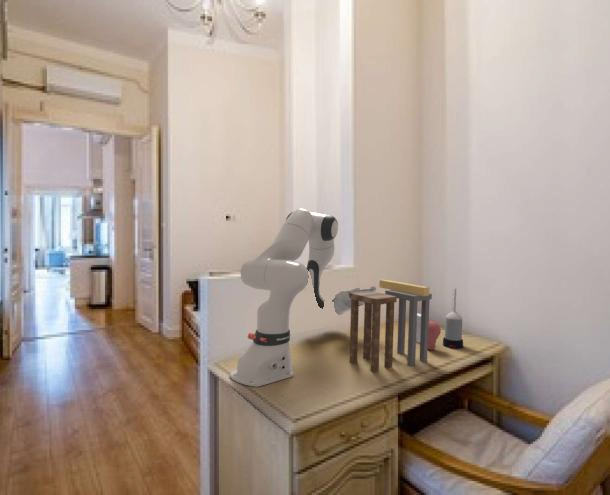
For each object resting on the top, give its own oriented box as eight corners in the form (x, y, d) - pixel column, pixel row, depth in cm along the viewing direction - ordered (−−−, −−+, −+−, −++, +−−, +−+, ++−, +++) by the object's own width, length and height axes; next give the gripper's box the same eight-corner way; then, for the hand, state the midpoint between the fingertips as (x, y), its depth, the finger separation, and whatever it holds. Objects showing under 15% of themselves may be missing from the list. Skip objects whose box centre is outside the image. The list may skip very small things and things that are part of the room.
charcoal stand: (383, 355, 153) (385, 290, 151) (400, 351, 159) (402, 288, 157) (411, 367, 141) (414, 296, 140) (429, 361, 147) (431, 293, 146)
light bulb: (440, 353, 157) (442, 324, 157) (422, 351, 159) (423, 322, 158) (438, 347, 164) (439, 319, 163) (421, 346, 166) (422, 318, 165)
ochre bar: (379, 287, 159) (379, 280, 158) (384, 286, 160) (384, 279, 160) (423, 296, 141) (424, 287, 140) (429, 295, 142) (429, 287, 142)
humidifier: (449, 349, 163) (452, 290, 161) (439, 343, 171) (441, 286, 169) (467, 348, 164) (469, 289, 163) (455, 342, 172) (458, 286, 171)
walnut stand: (347, 361, 146) (349, 292, 144) (366, 356, 152) (368, 290, 150) (374, 373, 135) (376, 299, 133) (394, 367, 140) (396, 296, 139)
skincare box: (426, 342, 172) (427, 315, 171) (420, 343, 170) (421, 316, 169) (415, 338, 177) (416, 312, 176) (409, 340, 175) (410, 313, 174)
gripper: (327, 295, 172) (346, 283, 162) (361, 291, 184) (380, 280, 173) (331, 308, 169) (350, 297, 159) (365, 304, 181) (385, 293, 171)
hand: (366, 288), depth 166 cm, fingers open, 8 cm apart
